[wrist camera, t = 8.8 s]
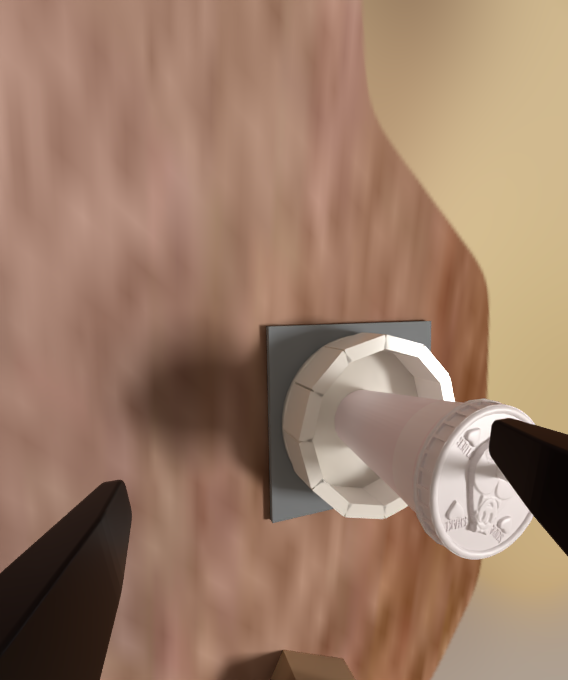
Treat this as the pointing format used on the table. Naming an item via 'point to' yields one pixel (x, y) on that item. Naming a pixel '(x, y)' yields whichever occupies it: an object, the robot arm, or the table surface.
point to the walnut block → (310, 667)
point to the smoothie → (439, 465)
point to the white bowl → (323, 400)
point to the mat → (282, 365)
